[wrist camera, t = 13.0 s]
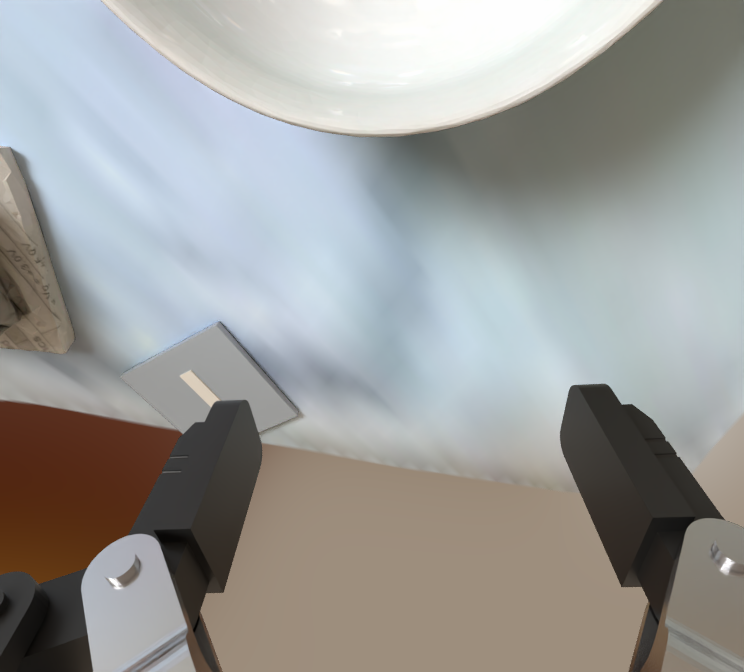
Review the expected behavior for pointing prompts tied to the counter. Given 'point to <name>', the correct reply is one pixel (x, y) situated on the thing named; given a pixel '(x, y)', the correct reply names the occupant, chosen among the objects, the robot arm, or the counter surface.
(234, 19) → the cereal bowl
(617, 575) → the robot arm
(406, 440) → the counter surface
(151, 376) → the tile
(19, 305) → the packaged product
